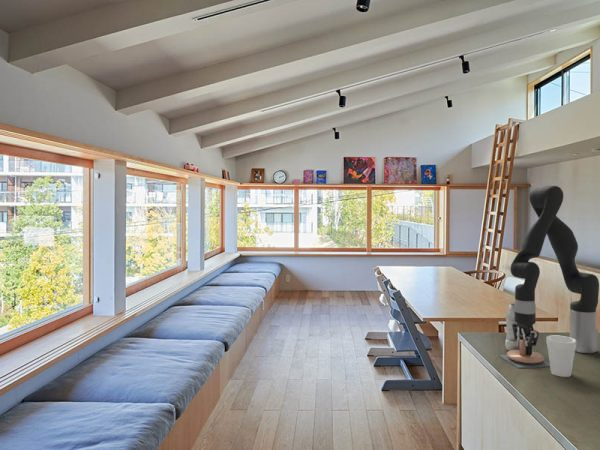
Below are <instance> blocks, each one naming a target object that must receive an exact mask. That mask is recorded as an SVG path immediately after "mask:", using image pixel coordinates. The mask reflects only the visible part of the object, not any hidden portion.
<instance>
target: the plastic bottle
mask: <svg viewBox="0 0 600 450" xmlns="http://www.w3.org/2000/svg"><path fill="white" fill-rule="evenodd" d="M514 304H515V303H509V304H508V309H509V310H508V311H507V312H506V313H505V323H506V338H505V341H504V345H505V348H506V350H507V351H510V350H518V341H517V339H515V338H514V333H513V327H512V324H517V323H516V322H515V320H514ZM516 330H517V329H516ZM516 334H517V333H516Z"/></svg>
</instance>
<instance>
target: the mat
mask: <svg viewBox="0 0 600 450" xmlns="http://www.w3.org/2000/svg"><path fill="white" fill-rule="evenodd" d="M497 357H499V358H501V359H502V360H504V361H506V362H507V363H509V364H511V365H512V366H513V367H516V368H517V369H529V368H530V369H531V368H545V367H548V368H550V362H547V361H545V360H544V361H543V362H541V363H522V362H518V361H514V360H512V359H510V358H508V356H507V354H498V355H497Z"/></svg>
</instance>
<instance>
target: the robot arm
mask: <svg viewBox="0 0 600 450" xmlns="http://www.w3.org/2000/svg"><path fill="white" fill-rule="evenodd" d="M528 196H529V198H528V199H529V202H530V205H531V207H532V209H533V210H534V212H535V214H536V216H537V217H538V218H537V220H536V221H535V222H534V223H533V224H532V225H531V226H530V227H529V229H528V230H527V231H526V233H525V236H524V239H523V242H522V245H521V248H520V250H519V251H518V253H517V255H515V258H514V259H513V260H512V262H511V264H510V273H511V275H512V276H513V277H514V278H517V279H523V280H524V282H523V283H520V284H519V283H518V284H517V285H516V286H515V288H514V303H513V304H514V320H515V322H516V323H517V324H512V327H513V333H514V338H515V339H517V341H518V350H519V340H520V339H524V340H525V344H526V355H532V351H533V347H536V346H537V343H538V339H539V332H536V331H535V330H534V329H535V328H534V325H535V324H536V315H537V313H536V310H537V308H536V306H537V305H536V288H537V285H538V281H539V277H540V273H541V270H540V267H539V265H538V264H537V263H536V262H534V261H530V260H532V259H536V258H539V257H540V254H541V253H542V250H543V246H544V242H545V240H546V237H547V238H548V241H549V244H550V245H551V247H552V250H553V252H554V254H555V256H556V260H557V262H558V264H559V267H560V271H561V274H562V277H563V281H564V283H565V286H566V288H567V290H568V291H570V292H572V293H574V294H579V295H580V299H579V300H575V301H571V302H570V307H569V315H570V316H569V337H570V338H573V339H575V340H576V348H575V352H578V353H580V354H581V353H584V354H593V353H594V354H595V353H596V352H598V351H599V346H598V345H599V329H598V328H597V307H598V303H599V295H600V294H599V293H600V281H599V278H598V277H597V275H595V274H593V273H588V272H580V271H579V269H578V267H577V265H576V262H575V260H576V256H577V253H578V251H579V250H578V249H579V244H578V241H577V239H576V236H575V234H574V232H573V230H572V229H571V228H570V226H568V225H567V224H566V223H565V222H564V221H562V220H561V219H560V218H559V217H558V216H557V214H558V212H559V210H560V209H561V207H562V204H563V201H564V191H563V189H562V188H561V187H559V186H557V185H544V186H535V187H533V188H532V189H531V190H530V192H529V195H528ZM516 329H517V330H516ZM516 333H517V334H516ZM528 340H529V343H528Z"/></svg>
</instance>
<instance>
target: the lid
mask: <svg viewBox="0 0 600 450" xmlns="http://www.w3.org/2000/svg"><path fill="white" fill-rule="evenodd" d="M528 343H529V340H528ZM506 355H507V356H508V358H510V359H512V360H514V361H518V362H522V363H541V362H543V361H545V360H544V355H542V354H541V353H539V352H537V351H533V350H532V355H526V344H525V340H524V339H520V340H519V350H507V352H506Z"/></svg>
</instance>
